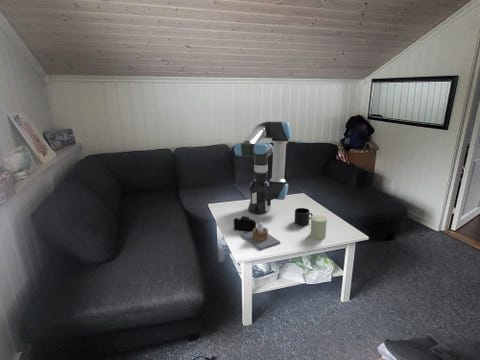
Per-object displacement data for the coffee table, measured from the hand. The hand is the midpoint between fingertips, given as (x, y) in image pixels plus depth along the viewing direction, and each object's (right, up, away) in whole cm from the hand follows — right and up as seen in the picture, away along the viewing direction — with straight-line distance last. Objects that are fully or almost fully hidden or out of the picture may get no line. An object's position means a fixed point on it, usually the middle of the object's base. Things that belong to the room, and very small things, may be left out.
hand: (260, 206), depth 170 cm
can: (+35, -18, +9) cm, 41 cm away
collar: (0, -19, +5) cm, 20 cm away
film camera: (-8, -16, +20) cm, 27 cm away
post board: (0, -20, +5) cm, 21 cm away
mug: (+30, -13, +26) cm, 42 cm away
